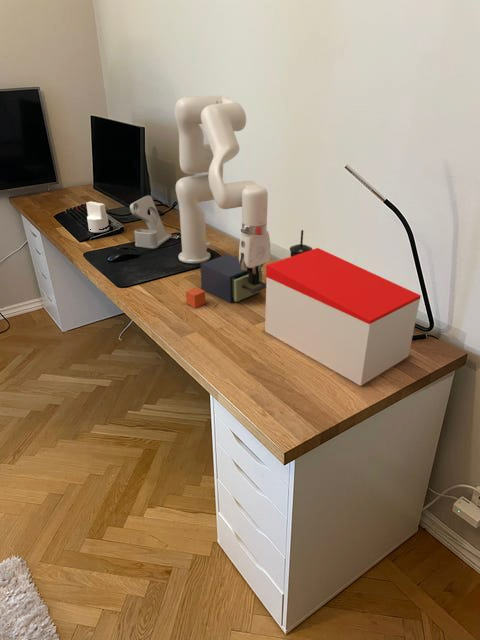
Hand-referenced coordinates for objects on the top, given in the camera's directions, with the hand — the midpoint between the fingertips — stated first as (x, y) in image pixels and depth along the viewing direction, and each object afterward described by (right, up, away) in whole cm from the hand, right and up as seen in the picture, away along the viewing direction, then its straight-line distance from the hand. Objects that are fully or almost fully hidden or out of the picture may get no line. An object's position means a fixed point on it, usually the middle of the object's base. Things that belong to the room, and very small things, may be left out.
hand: (253, 283), depth 157 cm
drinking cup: (+16, 0, +14) cm, 21 cm away
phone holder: (-42, +22, +53) cm, 71 cm away
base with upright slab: (-69, +30, +67) cm, 101 cm away
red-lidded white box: (+22, -18, -20) cm, 35 cm away
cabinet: (-8, -1, +10) cm, 13 cm away
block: (-19, -6, +1) cm, 20 cm away
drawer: (-4, -3, +6) cm, 8 cm away
